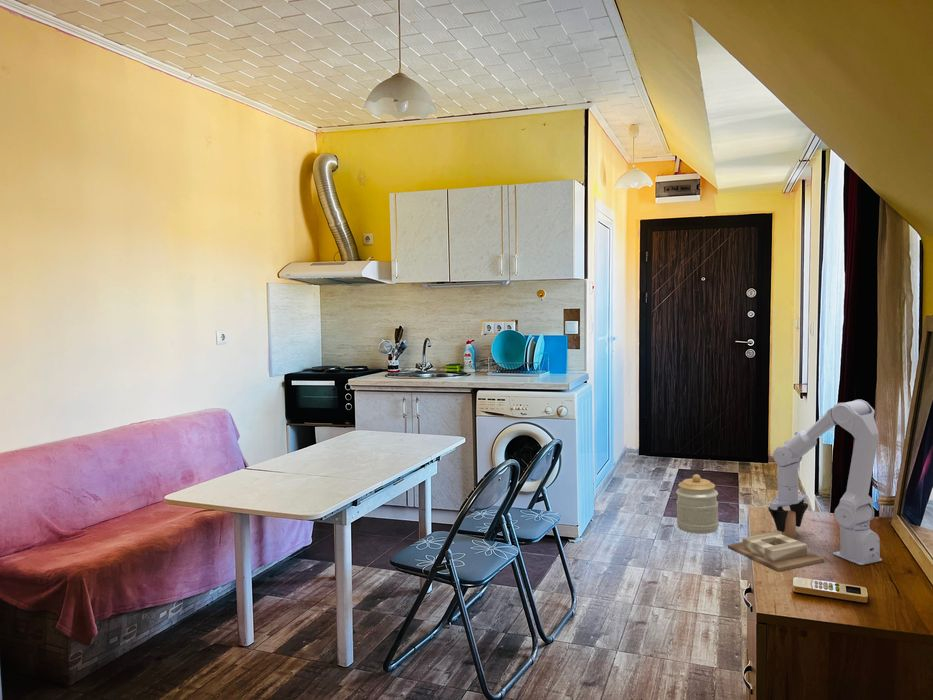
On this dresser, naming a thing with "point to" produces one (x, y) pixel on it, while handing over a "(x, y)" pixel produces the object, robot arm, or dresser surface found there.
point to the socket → (776, 551)
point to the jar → (697, 506)
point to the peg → (790, 525)
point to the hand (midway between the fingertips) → (788, 528)
